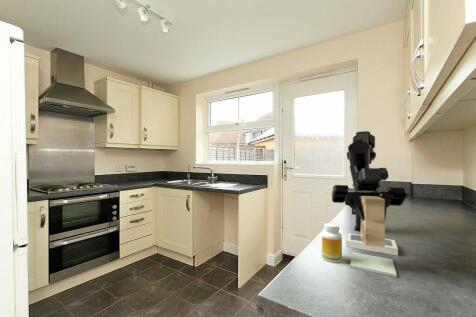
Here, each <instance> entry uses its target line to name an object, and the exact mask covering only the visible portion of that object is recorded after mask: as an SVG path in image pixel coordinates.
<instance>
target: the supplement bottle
mask: <svg viewBox="0 0 476 317" xmlns="http://www.w3.org/2000/svg"><path fill="white" fill-rule="evenodd" d="M323 225H324V226H323V231H322V232H321V258H322V259H323V260H324V261H326V262H329V263H340V262H342V260H343V250H342V248H343V246H342V245H343V236H342V234H341V233H340V232H339V231H340V226H339V224H337V223H332V222H330V223H328V222H326V223H324V224H323Z"/></svg>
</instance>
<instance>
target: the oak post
mask: <svg viewBox="0 0 476 317" xmlns="http://www.w3.org/2000/svg"><path fill="white" fill-rule="evenodd" d="M361 206H362V209H363V212H364V216H365V220H362V219H361V231H360V235H361V241H362V242H363V243H364V244H365V245H366V246H377V247H385V239H386V237H385V236H386V235H385V234H386V233H385V232H386V230H385V227H386V224H385V222H386V218H385V199H383V198H380V197H373V196H361Z"/></svg>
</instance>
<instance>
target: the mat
mask: <svg viewBox="0 0 476 317" xmlns="http://www.w3.org/2000/svg"><path fill="white" fill-rule="evenodd" d="M350 268H354V269H356V270H357V269H358V270H362V271H365V272H366V271H367V272H372V273H376V274H381V275H385V276H390V277H394V278H398V277H397V275H398V274H397V270H396V267H395V264H394V261H393V259H392V258H387V257H381V256H375V255H371V254H366V253H365V254H364V253H359V252H354V251H352V252H351V257H350Z"/></svg>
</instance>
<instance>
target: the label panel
mask: <svg viewBox="0 0 476 317" xmlns="http://www.w3.org/2000/svg"><path fill="white" fill-rule="evenodd" d="M396 243H397V242H396V241H395V239H389V238H385V247H377V246H366V245H365V244H364V243H363V242H362V241H361V234H356V233H355V234H354V233H348V232H347V235H346V240H345V247H347V248H353V249H357V250H359V249H360V250H363V251H370V252H376V253H382V254H386V255H394V256H399V248H398V245H397V244H396Z"/></svg>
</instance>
